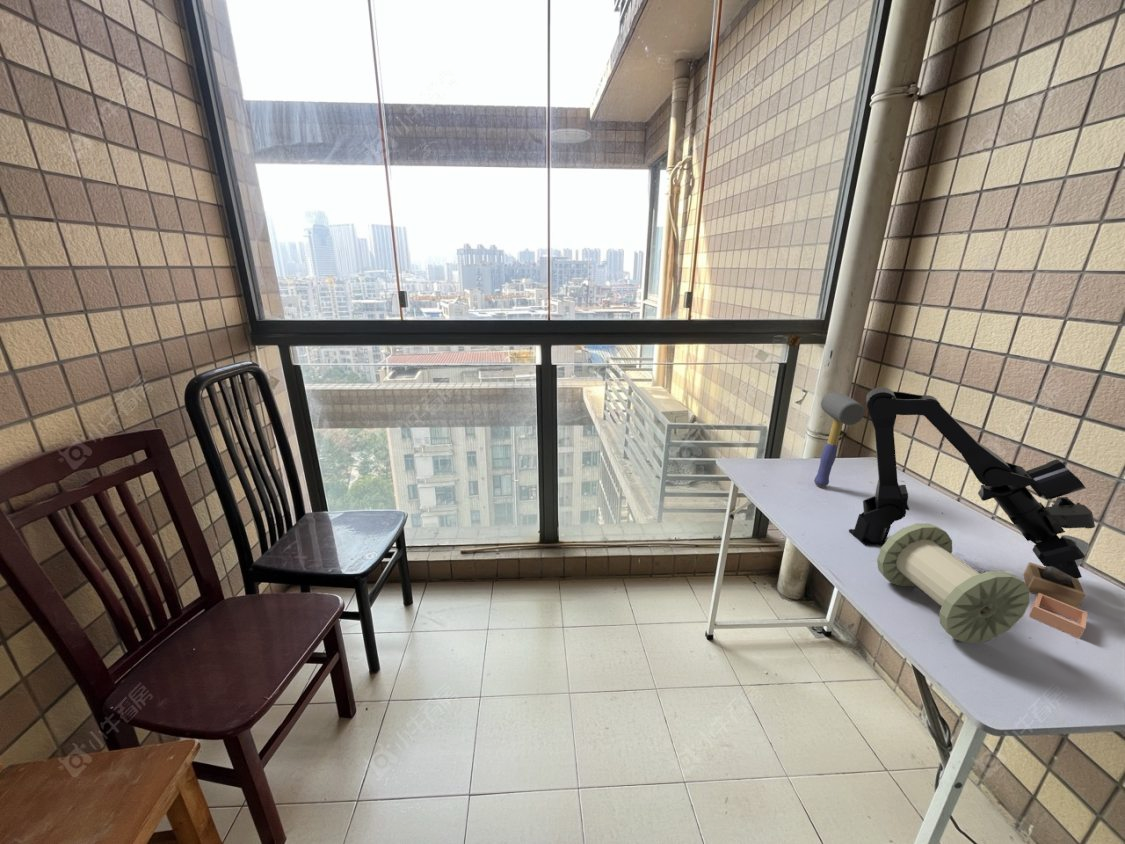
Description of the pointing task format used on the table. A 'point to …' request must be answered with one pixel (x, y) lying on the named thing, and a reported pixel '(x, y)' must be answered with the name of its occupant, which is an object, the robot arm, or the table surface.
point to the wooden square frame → (1053, 586)
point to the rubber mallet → (836, 429)
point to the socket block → (1056, 620)
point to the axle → (1059, 576)
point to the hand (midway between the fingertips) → (1071, 568)
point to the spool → (953, 583)
